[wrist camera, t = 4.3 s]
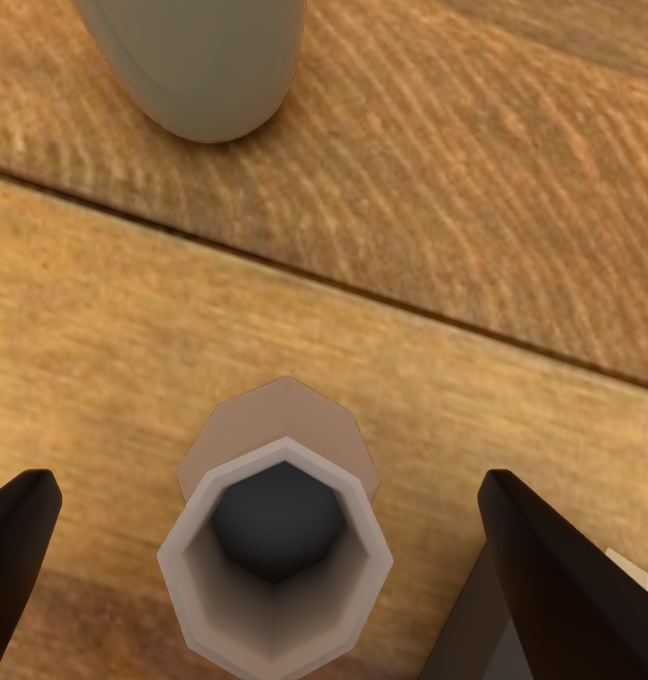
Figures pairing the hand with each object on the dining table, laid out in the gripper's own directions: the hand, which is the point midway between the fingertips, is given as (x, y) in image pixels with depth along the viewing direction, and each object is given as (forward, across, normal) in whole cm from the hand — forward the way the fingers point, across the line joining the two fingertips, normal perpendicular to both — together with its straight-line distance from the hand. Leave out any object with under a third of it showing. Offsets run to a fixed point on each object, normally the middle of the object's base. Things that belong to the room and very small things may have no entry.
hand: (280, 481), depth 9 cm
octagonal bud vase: (+5, 0, +6) cm, 8 cm away
